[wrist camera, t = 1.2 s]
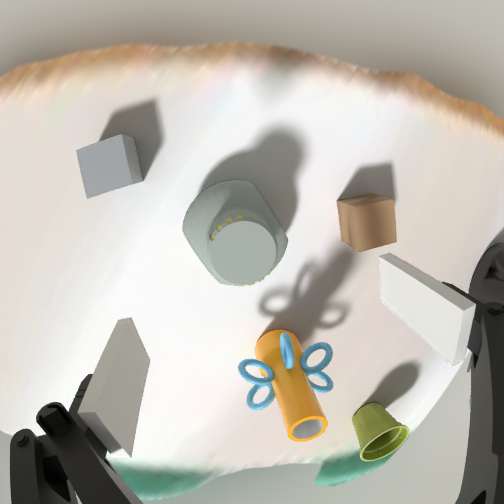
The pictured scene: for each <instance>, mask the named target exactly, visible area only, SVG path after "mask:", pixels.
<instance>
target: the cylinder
mask: <svg viewBox="0 0 504 504" xmlns="http://www.w3.org/2000/svg"><path fill="white" fill-rule="evenodd" d="M318 349H324V350H325V351H326V355H325V358H324V359H323V361H322V362H321V363H319V364H318V365H316V366H314V367H308V366H307V364H306V362H307V359H308V357H309V356H310V354H311V353H313V352H314V351H316V350H318ZM255 354H256V358H257V360H256V359H245V360H243V361H241V362H240V364H239V366H238V370H239V373H240V375H241V376H242V377H243V378H244V379H245V380H247V381H249V382H251V383H253V384H255V385H254V386H253V387H252V388H251V390H250V391H249V393H248V395H247V405H248V407H249V408H251V409H253V410H261V409H263V408H265V407H267V406H268V405H269V404H270V403H271V402H272V401H273V399H274V398H275V395H276V398H277V402H278V405H279V408H280V411H281V414H282V418H283V421H284V424H285V427H286V431H287V434H288V437H289V438H290V439H291V440H294V441H299V442H301V441H308V440H311V439H314V438H316V437H318V436H319V435H321V434H322V433H323V432H324V431H325V430H326V428H327V426H328V422H327V420H326V417H325V415H324V413H323V411H322V409H321V406H320V404H319V402H318V400H317V398H316V396H315V393H314V391H316V392H320V393H326V392H329V391H330V390H331V389H332V388H333V381H332V380H331V378H330V377H329V376H328V375H327V374H325V373H324V372H322V371H321V370H323V369H324V368H325V367H326V366H327V365H328V364H329V362H330V361H331V358H332V355H333V351H332V348H331V346H330V345H329V344H327V343H324V342H320V343H316V344H314V345H312V346H310V347H309V348H308V349H307V350H306V351H305V352H304V351H303V349H302V347H301V345H300V343H299V341H298V339H297V337H296V336H295V335H294V334H293V333H292V332H290V331H288V330H284V329H276V330H272V331H269V332H267V333H266V334H264V335H263V336H262V337H261V338H260V339H259V340H258V342H257V344H256V347H255ZM248 365H253V366H257V367H259V369H260V372H261V374H262V376H263V377H264V378H257V377H254V376H252V375H250V374H249V373H248V372H247V371H246V369H245V367H246V366H248ZM308 375H316V376H318V377H320V378H322V379H323V380H324V381H325V382H326V383H327V386H318V385H316V384H314V383H313V382H311V381H310V380H309V378H308ZM264 386H268V387H269V388H270V392H269V395H268V397H267V398H266V399H265V400H264V401H263V402H261V403H259V404H254V403H253V397H254V395H255V393H256V392H257V391H258V390H259V389H260V388H262V387H264ZM313 390H314V391H313Z"/></svg>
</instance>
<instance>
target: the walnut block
mask: <svg viewBox="0 0 504 504" xmlns="http://www.w3.org/2000/svg"><path fill="white" fill-rule="evenodd" d="M337 207H338V214H339V222H340V230H341V239H342V241H343V242H345V243H346V244H348V245H350V246H351V247H353V248H354V249H356V250H357V251H359V252H362V251H366V250H369V249H373V248H377V247H380V246H384V245H387V244H391V243H395V242H397V239H396V221H395V208H394V199H392V198H388V197H384V196H380V195H375V194H368V195H363V196H358V197H353V198H348V199H343V200H338V201H337Z"/></svg>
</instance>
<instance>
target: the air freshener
mask: <svg viewBox="0 0 504 504" xmlns="http://www.w3.org/2000/svg"><path fill="white" fill-rule="evenodd" d="M182 229H183V232H184V235H185V237H186V238H187V240H188V242H189V244H190V245H191V247H192V249H193V250H194V252H195V253H196V255H197V256H198V258H199V259H200V260H201V262H202V263H203V265H204V266H205V267H206V268H207V270H208V271H209V272H210V273H211V275H212V276H213V277H214V278H215V279H216V280H217V281H218V282H219V283H221V284H226V285H235V286H246V285H252V284H254V283H256V282H258V281H259V282H260V281H261V280H263V279H264V277H266V276H267V275H269V274H270V272H271V271H272V270H273V269H274V268H275V267H276V266H277V264H278V263H279V262H280V260H281V258H282V257H283V255H284V253H285V250H286V248H287V244H288V238H287V236H286V234H285V232H284V230H283V229H282V227H281V225H280V223H279V222H278V220H277V218H276V217H275V215H274V214H273V212H272V210H271V209H270V207H269V206H268V204H267V203H266V201H265V200H264V198H263V197H262V195H261V194H260V192H259V191H258V190H257V188H256V187H255V186H254V184H253V183H252V182H249V181H245V180H228V181H223V182H219V183H217V184H214V185H212V186H210V187H208V188H207V189H205V190H204V191H202V192H201V193H200V194H199V195H198V196H197V197H196V198H195V199H194V201H193V202H192V203H191V205H190V206H189V208H188V210H187V212H186V215H185V218H184V221H183V227H182Z"/></svg>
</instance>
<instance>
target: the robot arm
mask: <svg viewBox="0 0 504 504" xmlns="http://www.w3.org/2000/svg"><path fill="white" fill-rule="evenodd" d="M379 279H380V302H381V303H383V304H384V305H385V306H386V307H387V308H388V309H389V310H391V311H392V312H393V313H394V314H395V315H396V316H397V317H399V318H400V319H401V320H402V321H403V322H404V323H405V324H406V325H408V326H409V327H410V328H411V329H412V330H413V331H414V332H415V333H416V334H417V335H419V336H420V337H421V338H422V339H423V340H424V341H425V342H426V343H427V344H428V345H430V346H431V347H432V348H433V349H434V350H435V351H436V352H437V353H438V354H439V355H440V356H441V357H442V358H444V359H445V360H446V361H447V362H448V363H449V364H450V365H451V366H454V365H456V364H457V363H459V362H461V361H462V360H464V359H465V355H466V351H467V348H468V349H469V350H471V351H472V356H471V359H470V362H469V366H468V370H467V372H469V371H470V368H471V396H470V401H469V403H470V409H471V412H470V428H469V439H468V449H467V456H466V463H465V469H464V476H463V481H462V486H461V491H460V494H459V497H458V499H457V501H456V503H455V504H504V244H503V243H498V244H495V245H493V246H492V247H491V248H490V249H489V250H488V251H487V252H486V253H485V254H484V256H483V257H482V259H481V260H480V262H479V264H478V266H477V268H476V270H475V273H474V275H473V278H472V281H471V285H470V290H469V294H467V293H465V292H464V291H462V290H460V289H459V288H457V287H456V286H454V285H452V284H449V283H445V282H440V281H438V280H436V279H435V278H433V277H431V276H430V275H428V274H426V273H425V272H423V271H421V270H419V269H418V268H416V267H414V266H413V265H411V264H409V263H407V262H406V261H404V260H402V259H400V258H399V257H397V256H395V255H393V254H391V253H388V254H384V255H381V256H379ZM149 364H150V359H149V356H148V354H147V352H146V350H145V348H144V346H143V343H142V341H141V339H140V337H139V334H138V332H137V330H136V327H135V325H134V322H133V320H132V318H126V319H121V320H118V322H117V324H116V326H115V328H114V330H113V332H112V334H111V336H110V338H109V340H108V343H107V345H106V347H105V349H104V351H103V353H102V356H101V358H100V360H99V362H98V364H97V367H96V369H95V371H94V374H88V375H87V376H86V377H85V379H84V380H83V381H82V382H81V384H80V386H79V388H78V391H77V393H76V395H75V398H74V400H73V402H72V404H71V407H70V409H69V412H68V411H67V410H66V409H65V407H64V406H63V405H62V404H61V403H59V402H52V403H49V404H47V405H45V406H44V407H42V408H41V409H40V411H39V412H38V414H37V416H36V422H37V423H38V424H39V426H40V427H41V428H42V429H43V430H44V432H45V433H46V435H42V436H38V437H37V436H36V435H35V434H34V433H33V432H32V431H31V430H30V429H22V430H20V431H18V432H16V433H15V434H14V436H13V438H12V439H11V444H10V484H11V485H10V486H11V501H12V504H78V502H77V498H76V494H77V495H78V497H79V499H80V501H81V502H82V504H143V503H142V502H141V501H140V500H139V498H138V497H137V496H136V495H135V494H134V493H133V491H132V490H131V489H130V488H129V487H128V485H127V484H126V483H125V482H124V480H123V479H122V478H121V477H120V475H119V474H118V473H117V471H116V470H115V469H114V467H113V466H112V465H111V463H110V462H109V461H108V460H107V459H106V458H105V457H106V453H107V450H108V452H109V453H110V454H111V455H112V456H113V457H114V458H131V457H132V450H133V444H134V438H135V433H136V427H137V422H138V416H139V411H140V406H141V401H142V396H143V391H144V386H145V382H146V377H147V372H148V368H149ZM75 492H76V494H75Z"/></svg>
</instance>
